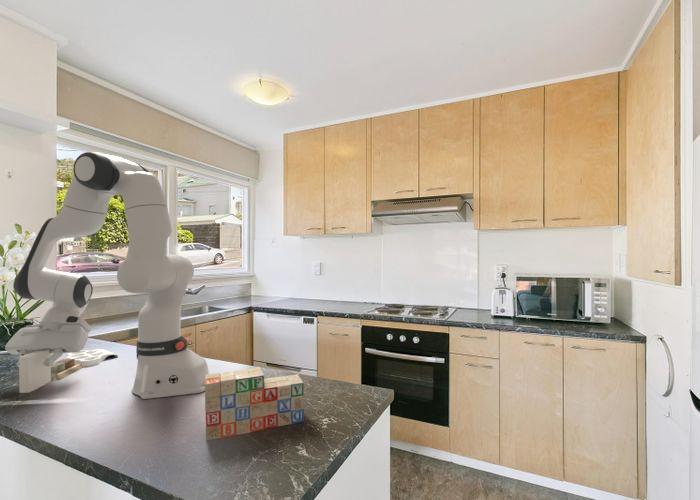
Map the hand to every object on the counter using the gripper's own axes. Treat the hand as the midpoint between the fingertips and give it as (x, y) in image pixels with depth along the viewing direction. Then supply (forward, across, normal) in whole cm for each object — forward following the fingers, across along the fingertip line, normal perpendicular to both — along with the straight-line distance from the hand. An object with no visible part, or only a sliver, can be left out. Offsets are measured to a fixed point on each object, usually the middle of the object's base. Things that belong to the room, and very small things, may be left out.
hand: (33, 365), depth 101 cm
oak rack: (-3, -3, +13) cm, 14 cm away
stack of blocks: (+25, +67, -14) cm, 73 cm away
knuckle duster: (-13, -1, +24) cm, 28 cm away
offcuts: (-4, -1, +13) cm, 13 cm away
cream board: (+5, 0, +6) cm, 7 cm away
